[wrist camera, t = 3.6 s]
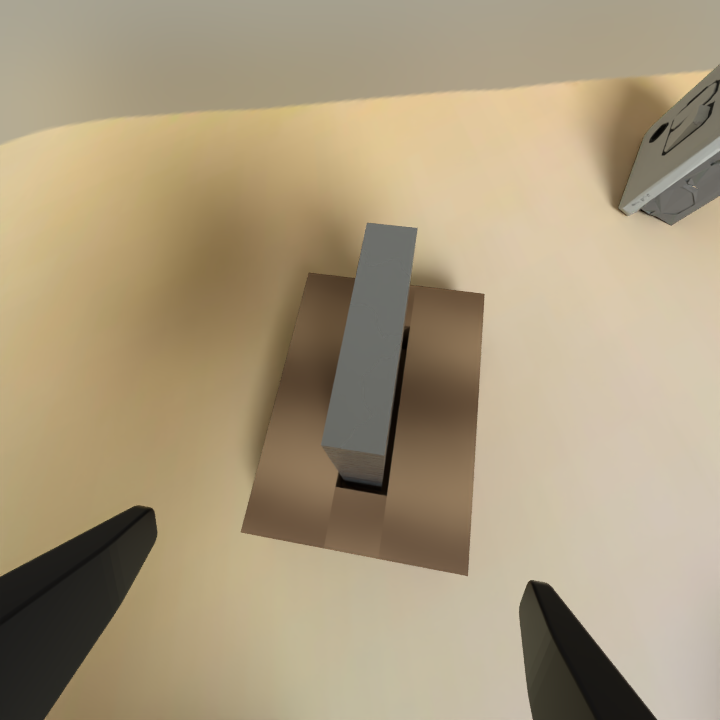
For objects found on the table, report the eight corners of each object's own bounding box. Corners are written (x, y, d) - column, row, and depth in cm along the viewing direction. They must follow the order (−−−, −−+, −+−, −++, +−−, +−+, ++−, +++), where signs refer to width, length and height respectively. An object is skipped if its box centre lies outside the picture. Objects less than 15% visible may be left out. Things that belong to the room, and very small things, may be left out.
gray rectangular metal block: (381, 491, 21) (384, 455, 11) (347, 485, 21) (320, 445, 11) (400, 354, 24) (417, 228, 14) (371, 350, 24) (367, 222, 14)
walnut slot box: (451, 567, 20) (467, 576, 17) (263, 532, 22) (240, 532, 18) (469, 327, 26) (484, 293, 22) (318, 308, 27) (308, 272, 23)
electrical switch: (642, 134, 32) (754, -5, 23) (706, 159, 31) (846, 25, 23) (612, 217, 29) (729, 92, 20) (682, 246, 28) (834, 130, 20)
